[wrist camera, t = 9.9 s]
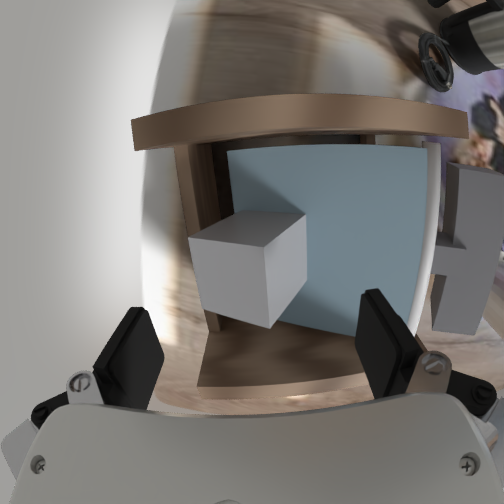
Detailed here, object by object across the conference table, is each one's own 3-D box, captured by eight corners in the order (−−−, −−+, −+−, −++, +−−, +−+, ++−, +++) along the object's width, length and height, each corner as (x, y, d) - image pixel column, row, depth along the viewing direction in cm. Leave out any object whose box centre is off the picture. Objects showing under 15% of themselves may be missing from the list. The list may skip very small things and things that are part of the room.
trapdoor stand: (366, 120, 25) (466, 112, 10) (365, 277, 32) (425, 369, 17) (200, 130, 26) (131, 119, 11) (223, 290, 33) (201, 399, 18)
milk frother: (483, 41, 17) (548, 29, 4) (480, 125, 23) (559, 136, 10) (410, -10, 16) (468, -51, 3) (403, 76, 22) (487, 51, 9)
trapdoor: (488, 151, 13) (516, 157, 9) (462, 313, 19) (469, 357, 14) (264, 142, 23) (225, 145, 19) (277, 285, 29) (247, 316, 24)
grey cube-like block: (305, 214, 18) (263, 247, 13) (306, 280, 20) (269, 328, 15) (242, 210, 20) (187, 237, 16) (248, 269, 22) (202, 308, 18)
